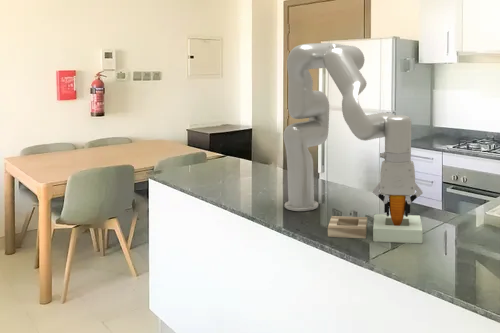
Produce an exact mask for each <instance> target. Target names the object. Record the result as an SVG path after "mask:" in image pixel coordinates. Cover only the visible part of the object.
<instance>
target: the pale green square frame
mask: <svg viewBox="0 0 500 333" xmlns="http://www.w3.org/2000/svg"><path fill="white" fill-rule="evenodd" d="M423 232H424V231H423V226H422V220H421V216H420V215H417V214H416V215H411V214H408V217H406V216H405V214H404V217H403V220H402V223H401V224H400V226H394V224H393V222H392V219H391V215H390V214H389V216H387V214H379V213H378V214H376V213H375V214H374V215H373V227H372V242H381V243H383V242H384V243H385V242H386V243H405V244H423V235H424V234H423Z"/></svg>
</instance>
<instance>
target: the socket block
mask: <svg viewBox="0 0 500 333" xmlns="http://www.w3.org/2000/svg"><path fill="white" fill-rule="evenodd" d="M367 230H368V217H366V216H339V215H334V216H333V215H331V217H330V220H329V222H328V226H327V237H329V238H347V239H348V238H351V239H367V232H368V231H367Z"/></svg>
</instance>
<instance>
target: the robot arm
mask: <svg viewBox="0 0 500 333" xmlns="http://www.w3.org/2000/svg"><path fill="white" fill-rule="evenodd" d="M287 55H288V56H287V59H286V68H287V76H288V94H287V95H288V96H287V98H288V99H287V101H288V102H287V110H288V115H289V116H290V118H292V119H294V120H303V119H308V120H307V121H305V120H304V121H299V122H294V123H291V124H289V125H287V126H286V127H285V129H284V131H283V134H282V135H283V142H284V147H285V153H286V165H287V166H286V167H287V168H286V169H287V195H288V196H287V197H288V201H285V203H284V208H285V209H286V210H289V211H293V212H308V211H313V210H316V209H318V208H319V202H318V201H316V200H315V191H314V190H315V186H314V184H315V183H314V182H315V181H314V159H313V155H312V153H311V152H310V150H309V148H310V147H311V148H312V147H315V146H320V145H323V144H324V143H325V142H326V141H327V139H328V136H329V126H330V122H329V121H330V102H329V98H328V96H327V95H326V93H324V92H323V91H322V90H321V91H320V90H313V86H314V82H313V77H312V74H311V72H310V71H309V70H313V69H315V70H317V69H326V70H327V73H328V74H329V76H330V77H331V79H332V80H333V82H334V84H335V85H336V87H337V89H338V90H339V93H341V95H342V98H341V99H342V101H341V112H342V117H343V119H344V122H345V123H346V125H347V126H348V128H349V130H350V132H351V133H352V134H353V135H354V136H355V137H356V138H357V139H358V140H360V141H371V140H376V139H381V138H384V151H383V152H382V153H379V158H381V159H384V160H383V161H382V162H381V167H380V173H379V174H380V176H379V177H380V179H379V182H378V184H377V185H376V186H375V187H374V188H373V189H372V193H373V195H375V196H376V197H377V198H379V199H380V200H381V201H382V202H383V204H384V207H383V208H384V210H383V212H384V213H386V215H387V216H389V215H390V209H389V196H390V195H402V196H405V197H406V203H405V212H404V215H405V216H406V217H408V215H409V214H411V204H412V203H413V202H414V201H415V200H416V199H417V198H418V197H421V195H423V190H422V189H421V188H420V187H419V185H418V184H417V182H416V172H415V170H416V169H415V164H414V161H413V160H412V159H411V157H412V119H411V117H410V116H408V115H405V114H397V115H395V114H392V113H387V112H379V113H373V114H366V113H365V112H364V110H363V108H362V106H361V104H360V102H359V95H361V93H362V92H363V91H364V90H365V89H366V87H367V81H366V80H367V79H366V78H365V76H363V74H362V73H361V69H362V68H363V67H364V65H365V56H364V54H363V51H362V50H361V49H360V48H358V47H356V46H355V45H346V44H340V43H333V42H318V43H317V42H316V43H311V42H310V43H303V44H299V45H296V46H294V47H293V48H292V49H291V50H290V52H289V54H287Z"/></svg>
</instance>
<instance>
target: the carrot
mask: <svg viewBox="0 0 500 333" xmlns="http://www.w3.org/2000/svg"><path fill="white" fill-rule="evenodd" d="M388 202H389V215H391V219H392V222H393V224H394V226H400V224H401V223H402V220H403V217H404V215H405V203H406V197H405V196H402V195H390V196H389V199H388Z"/></svg>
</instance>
